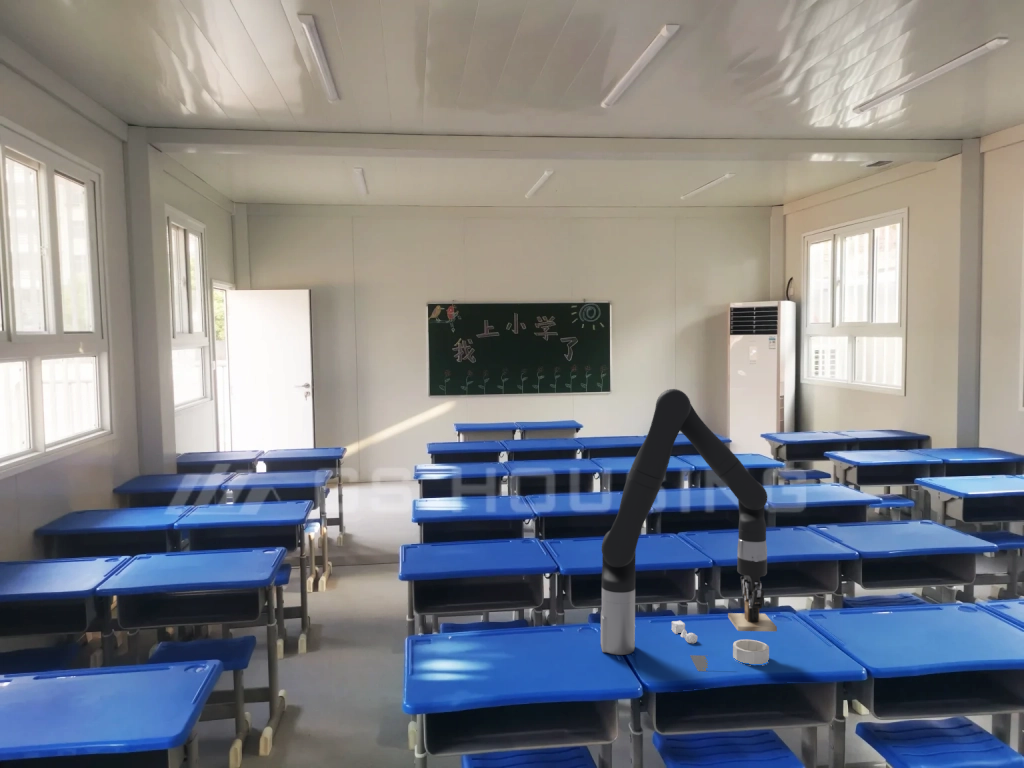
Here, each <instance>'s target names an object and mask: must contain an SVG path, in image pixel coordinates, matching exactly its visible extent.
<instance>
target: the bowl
mask: <svg viewBox="0 0 1024 768" xmlns="http://www.w3.org/2000/svg"><path fill="white" fill-rule="evenodd" d="M732 657H733V659H734V658H735V659H736V660H738V661H740V662H743V663H749V664H763V663H766V662H768V660H770V646H769V645H768V644H766V643H765V642H763V641H759V640H756V639H755V640H754V639H738V640H736V641H733V644H732ZM735 659H734V660H735ZM736 660H735V661H736ZM738 661H737V662H738ZM740 662H739V663H740ZM768 663H769V662H768Z"/></svg>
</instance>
